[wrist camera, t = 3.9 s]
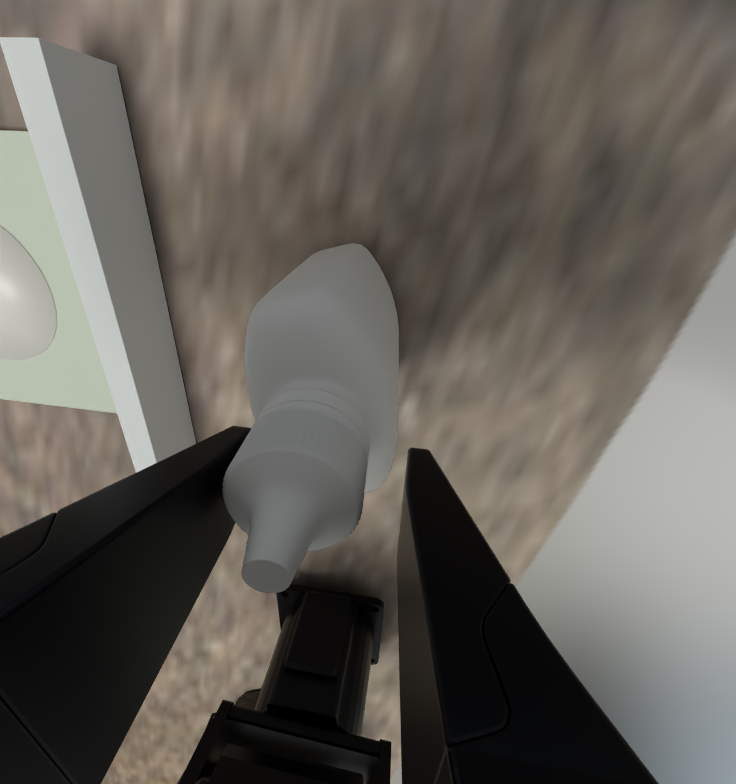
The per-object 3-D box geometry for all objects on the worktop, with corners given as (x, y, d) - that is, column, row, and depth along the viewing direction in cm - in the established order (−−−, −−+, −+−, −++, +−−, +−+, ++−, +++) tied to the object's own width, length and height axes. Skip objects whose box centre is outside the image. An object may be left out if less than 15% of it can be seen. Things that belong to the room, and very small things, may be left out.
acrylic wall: (197, 449, 21) (163, 488, 18) (176, 446, 21) (139, 484, 18) (116, 65, 13) (38, 37, 11) (83, 64, 13) (-2, 37, 11)
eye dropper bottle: (289, 361, 17) (113, 649, 7) (317, 227, 15) (96, 352, 4) (386, 389, 17) (364, 706, 7) (429, 263, 15) (502, 465, 4)
